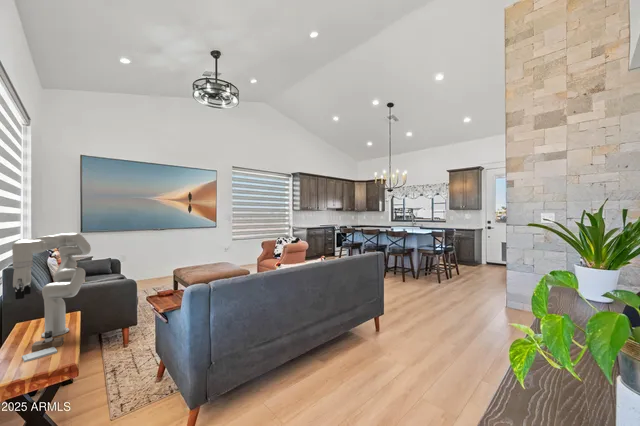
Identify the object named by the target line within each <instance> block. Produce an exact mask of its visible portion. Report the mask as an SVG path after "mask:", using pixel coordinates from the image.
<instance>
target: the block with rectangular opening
mask: <svg viewBox="0 0 640 426" xmlns="http://www.w3.org/2000/svg"><path fill="white" fill-rule="evenodd" d="M64 338H65V337H64V336H60V337H59V336H57V337H52V342H47V343H45V339H42V340H36V341H34V342H33V344H32V345H31V352H37V351H40V350H44V349H48V348H51V347H55V348H56V347H62V345H63V343H64V340H65V339H64Z"/></svg>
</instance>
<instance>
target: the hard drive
mask: <svg viewBox="0 0 640 426" xmlns="http://www.w3.org/2000/svg"><path fill="white" fill-rule="evenodd" d="M57 353H58V350H57V348H56V347H51V348H47V349H41V350H36V351H33V352H30V353H27V354H23V355H21V359H22V361H23V363H27V362H30V361H33V360H37V359H41V358H43V357H47V356H51V355H54V354H57Z"/></svg>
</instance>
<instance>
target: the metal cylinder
mask: <svg viewBox="0 0 640 426" xmlns="http://www.w3.org/2000/svg"><path fill="white" fill-rule="evenodd" d="M44 332H45V331H44ZM52 339H53V337H52V331H47V332H45V338H44V340H45V343H47V342H52Z"/></svg>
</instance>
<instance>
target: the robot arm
mask: <svg viewBox="0 0 640 426" xmlns="http://www.w3.org/2000/svg"><path fill="white" fill-rule="evenodd" d="M11 249H12V251H11V252H12V269H13V276H12V287H13V288H15V296H14V297H15V300H21V299H25V295H30V294H31V293H32V291H31V283H32V267H34V257H33V256H34V254H42V253H45V252H46V251H48V250H49V251H51V250H55V249H58V253H59V256H60V257H59V258H60V264H59V266H58V267H57V269H56V271H55V273H54V275H53V278H52V280H53V281H54V282H50V283H47V284H45V285H44V286H43V287H42V289H41V290H42V291H41V294H42V298H43V304H44V306H43V307H44V332H42V333H41V338H44V339H45V332H47V331H52V338H55V337H59V336H62V335H65V334H66V333H68V332H69V331H70V328H68V327H67V326H66V324H67V323H66V302H65V300H64V299H65V298H73V297H75V296H76V295H78V293H79V291H80V290H81V287H82V285H83V283H84V281H85V280H86V279H85V278H86V270H85V269H84V268H82V267H77V266H78V262H77V261H76V259H75V258H74V256H86V255H89V254H90V252H91V251H92V248H91V244H90V243H89V242H88V241H87V239H86V238H85V237H84V235H82V234H80V233H78V232H67V233H66V232H64V233H56V234H52V235H46V236H39V237H30V238H25V239H24V238H23V239H20V240H16V241H15V242H13V243H12V246H11Z"/></svg>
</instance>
